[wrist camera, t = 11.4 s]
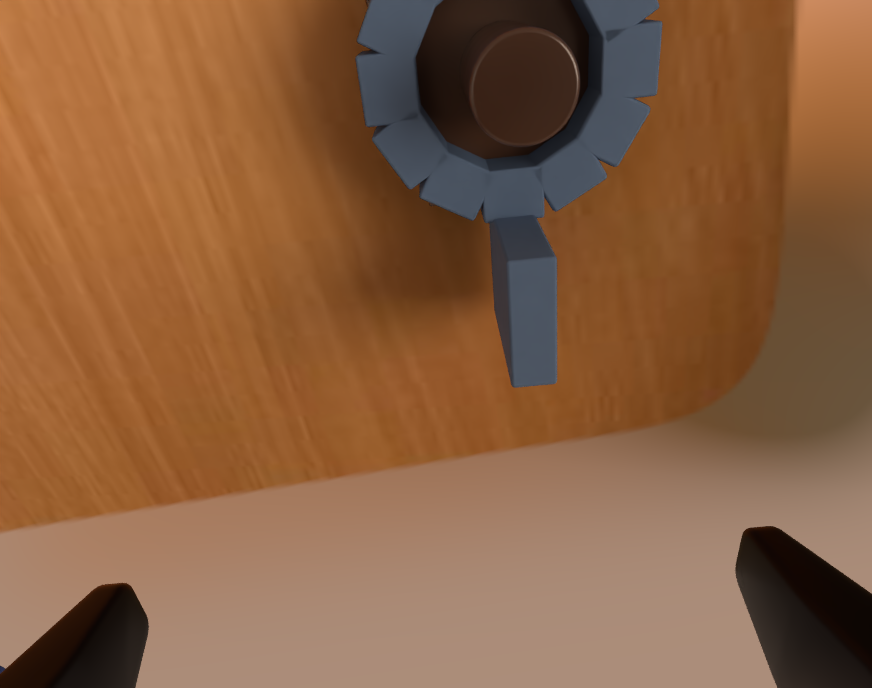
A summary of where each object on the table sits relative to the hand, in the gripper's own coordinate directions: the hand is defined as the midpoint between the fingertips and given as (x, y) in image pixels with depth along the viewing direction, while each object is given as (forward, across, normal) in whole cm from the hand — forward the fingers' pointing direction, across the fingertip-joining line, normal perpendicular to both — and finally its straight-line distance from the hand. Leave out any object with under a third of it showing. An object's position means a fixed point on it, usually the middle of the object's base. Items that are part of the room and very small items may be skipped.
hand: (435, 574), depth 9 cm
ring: (+9, -2, -4) cm, 10 cm away
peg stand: (+10, -2, -6) cm, 11 cm away
